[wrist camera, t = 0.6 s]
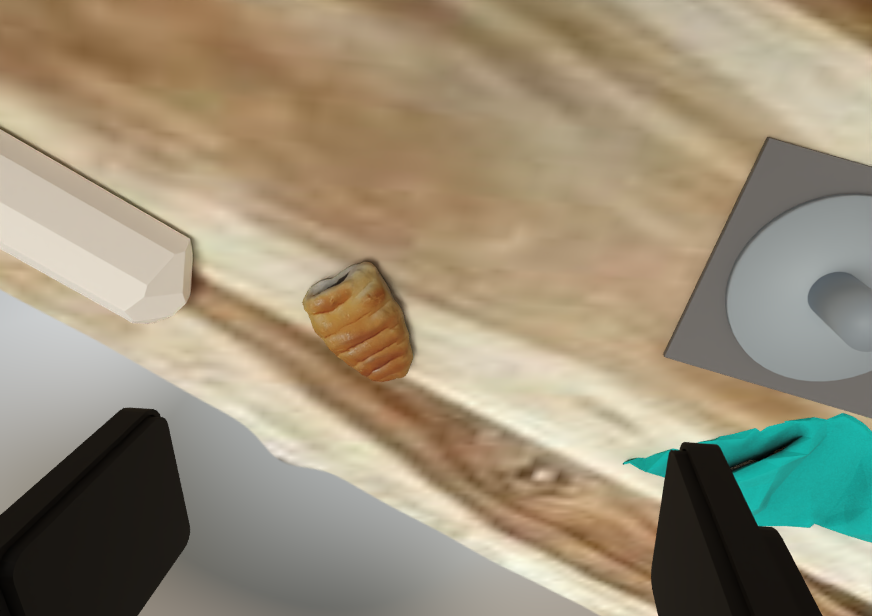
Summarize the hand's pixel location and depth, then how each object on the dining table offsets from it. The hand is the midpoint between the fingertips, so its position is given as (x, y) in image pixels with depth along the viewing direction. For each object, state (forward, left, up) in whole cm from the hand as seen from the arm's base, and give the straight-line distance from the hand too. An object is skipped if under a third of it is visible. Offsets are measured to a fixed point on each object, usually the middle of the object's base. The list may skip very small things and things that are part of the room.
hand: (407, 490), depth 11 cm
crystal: (+13, -31, -34) cm, 47 cm away
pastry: (+14, -6, -33) cm, 37 cm away
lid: (+2, +24, -33) cm, 40 cm away
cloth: (+17, +30, -34) cm, 48 cm away
